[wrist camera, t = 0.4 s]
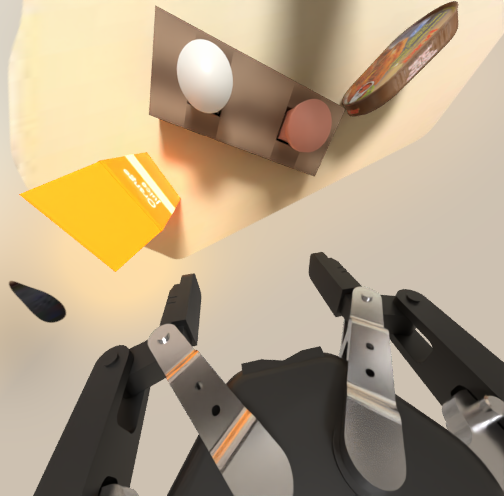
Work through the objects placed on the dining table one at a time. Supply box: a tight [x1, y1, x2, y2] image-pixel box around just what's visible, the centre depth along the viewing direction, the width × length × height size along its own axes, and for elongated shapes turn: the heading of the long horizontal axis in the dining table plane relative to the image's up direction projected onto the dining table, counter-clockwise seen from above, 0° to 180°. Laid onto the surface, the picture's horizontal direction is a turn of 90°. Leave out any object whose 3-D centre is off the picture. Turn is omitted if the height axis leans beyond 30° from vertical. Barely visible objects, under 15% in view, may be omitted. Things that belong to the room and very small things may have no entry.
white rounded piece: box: [177, 39, 233, 113], centre depth 22 cm, size 6×6×6 cm
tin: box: [342, 1, 458, 116], centre depth 27 cm, size 15×3×8 cm, turn 135°
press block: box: [149, 6, 345, 176], centre depth 28 cm, size 10×26×5 cm, turn 72°
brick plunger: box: [278, 99, 332, 152], centre depth 26 cm, size 6×6×6 cm
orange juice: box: [19, 152, 181, 272], centre depth 24 cm, size 8×9×20 cm
